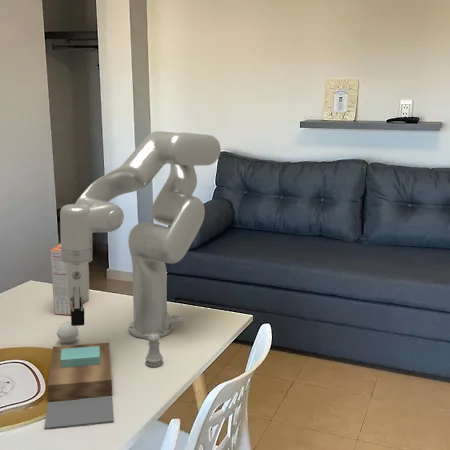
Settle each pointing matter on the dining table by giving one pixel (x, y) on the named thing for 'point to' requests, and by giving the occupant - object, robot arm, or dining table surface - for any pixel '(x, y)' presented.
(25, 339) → the dining table surface
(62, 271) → the cracker box
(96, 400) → the mat
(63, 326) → the white sphere
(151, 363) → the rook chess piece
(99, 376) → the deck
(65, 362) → the teal rectangular block
